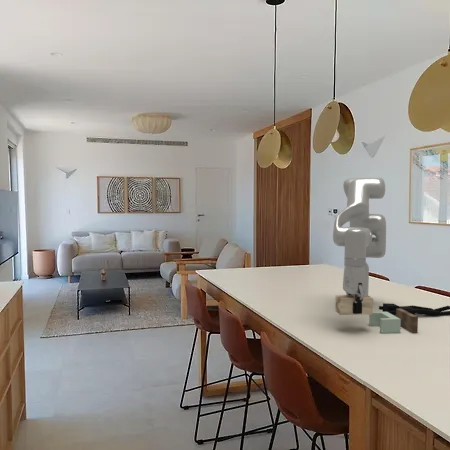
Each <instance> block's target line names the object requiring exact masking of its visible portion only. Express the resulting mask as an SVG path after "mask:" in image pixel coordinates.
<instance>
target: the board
mask: <svg viewBox="0 0 450 450" xmlns="http://www.w3.org/2000/svg"><path fill="white" fill-rule="evenodd" d="M395 316H396V317H398V318H399V319H401V325H400V328H403V330H406V331H408V332H409V333H410V334H418V331H419V330H418V329H419V326H418V325H419V316H418V315H416V314H415V315H413V314H411V313H409V312H407V311H405V310H403V309H396V315H395Z"/></svg>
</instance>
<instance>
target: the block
mask: <svg viewBox="0 0 450 450" xmlns="http://www.w3.org/2000/svg"><path fill="white" fill-rule="evenodd" d="M368 317H369V318H368V325H369V326H370V327H379V333H380V334H401V327H400V325H401V319H399V318H398V317H396V315H392V314H390V313H388V312H383V311H373V314H370V315H368Z"/></svg>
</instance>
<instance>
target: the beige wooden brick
mask: <svg viewBox="0 0 450 450" xmlns="http://www.w3.org/2000/svg"><path fill="white" fill-rule="evenodd" d="M357 297H359V296H356V299H357ZM353 303H354V296H353V295H346V294H344V295H343V294H342V295H341V294H340V295H339V294H337V295H336V294H335V307H334V308H335V309H334V311H335V312H336V313H337V314H338V315H340V316H353V315H354V316H356V315H357V316H360V315H361V316H363V315H364V316H365V315H367V316H369V315H370V314H373V312H374V297H372V296H370V295H369V294H368V295H364V298H363V303H362V314H354V313H353Z"/></svg>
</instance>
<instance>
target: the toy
mask: <svg viewBox="0 0 450 450" xmlns="http://www.w3.org/2000/svg"><path fill="white" fill-rule="evenodd" d="M396 309H403V310H405V311H407V312H409V313H411V314H413V315H415V316H416V314H418V315H423V316H430V317H443V316H449V315H450V305H446V306H442V307H438V308H434V309H433V308H432V307H427V306H426V307H425V306H417V305H405V306H404V305H403V306H402V305H401V306H400V305H397V304H395V303H386V302H385V303H382V305H379V306H378V310H381V311H382V312H388V313H390V314H392V315H394V316H396Z"/></svg>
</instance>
